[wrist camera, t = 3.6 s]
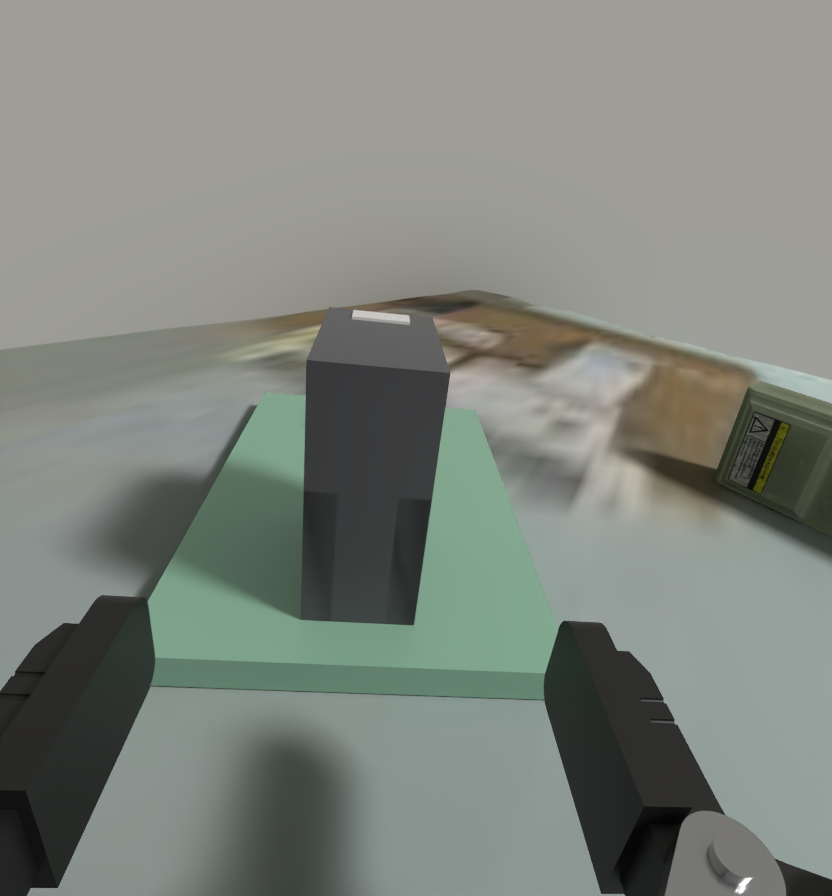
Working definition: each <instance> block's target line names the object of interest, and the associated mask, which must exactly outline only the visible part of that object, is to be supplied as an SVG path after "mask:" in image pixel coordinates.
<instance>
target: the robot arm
mask: <svg viewBox="0 0 832 896" xmlns="http://www.w3.org/2000/svg"><path fill="white" fill-rule="evenodd" d="M154 668H155V651H154V643H153V636H152V629H151V621H150V614H149V606H148V602H147V600H146V599H145V598H143V597H124V596H105V595H102V596H100V597H98V598H97V599H96V600H95V601H94V603H93V604H92V606H91V607H90V609H89V610H88V612H87V613H86V614H85V616H84V617H83V619H82V620H81V622H80V623H79V624H71V623H63V624H62V625H61V626H59V627H58V628H57V629H55V630H54V631H53V632H51V633H50V634H49V635H47V636H46V637H45V638H43V639H42V640H41V641H39V642H38V643H37V644H35V645H34V647H33V648H32V649H31V651H30V652H29V654H28V655H27V656H26V658H25V659H24V660H23V662H22V663H21V664H20V666H19V667H18V668H17V670H16V671H15V675H14V676H11V678H10V679H9V680H8V682H7V683H6V684H5V686H4V687H3V688H2V690H1V691H0V896H27V894H28V892H29V890H30V888H58V886H59V884H60V882H61V880H62V878H63V875H64V873H65V871H66V869H67V867H68V865H69V862H70V860H71V858H72V856H73V854H74V851H75V849H76V847H77V845H78V843H79V841H80V838H81V836H82V834H83V832H84V830H85V828H86V825H87V823H88V821H89V819H90V817H91V815H92V812H93V810H94V808H95V806H96V804H97V802H98V799H99V797H100V795H101V793H102V791H103V789H104V786H105V784H106V782H107V780H108V778H109V776H110V773H111V771H112V769H113V767H114V765H115V763H116V760H117V758H118V756H119V754H120V752H121V750H122V747H123V745H124V743H125V741H126V739H127V736H128V734H129V732H130V730H131V728H132V726H133V723H134V721H135V719H136V717H137V715H138V713H139V710H140V708H141V706H142V704H143V702H144V700H145V697H146V695H147V693H148V691H149V688H150V685H151V682H152V678H153V674H154ZM544 699H545V705H546V709H547V712H548V716H549V719H550V722H551V726H552V729H553V733H554V736H555V739H556V743H557V746H558V749H559V753H560V756H561V760H562V763H563V766H564V770H565V773H566V776H567V780H568V783H569V786H570V790H571V793H572V797H573V800H574V803H575V807H576V810H577V813H578V817H579V820H580V824H581V827H582V830H583V834H584V837H585V840H586V844H587V847H588V850H589V854H590V857H591V861H592V864H593V867H594V871H595V874H596V877H597V881H598V884H599V888H600V891H601V894H625V896H832V880H831V879H828V878H825V877H822V876H820V875H817V874H814V873H811V872H808V871H806V870H803V869H800V868H797V867H795V866H792V865H789V864H786V863H784V862H782V861H779V860H777V859H775V858H774V857H773V856H772V854H771V853H770V851H769V850H768V849H767V847H766V846H765V845H764V844H763V843H762V841H761V840H760V839H759V838H758V837H757V836H756V835H755V834H754V833H752V832H751V831H750V830H749V829H747V828H746V827H745V826H743V825H742V824H740V823H739V822H738V821H736V820H734V819H732V818H730V817H728V816H726V815H725V814H724V812H723V810H722V808H721V807H720V805H719V803H718V801H717V799H716V798H715V796H714V794H713V792H712V790H711V788H710V786H709V784H708V782H707V780H706V779H705V777H704V775H703V773H702V771H701V769H700V767H699V765H698V763H697V761H696V759H695V758H694V756H693V754H692V752H691V750H690V748H689V746H688V744H687V742H686V740H685V739H684V737H683V735H682V733H681V731H680V729H679V727H678V725H675V723H674V718H673V716H672V714H671V712H670V710H669V708H668V706H667V704H665V703H664V702H663V697H662V695H661V693H660V691H659V689H658V687H657V685H656V683H655V681H654V679H653V678H652V676H651V674H650V673H649V672H648V671H647V670H646V669H645V667H644V666H643V665H642V664H641V663H640V662H639V661H638V660H637V659H636V658H635V657H634V656H633V655H632V654H631V653H630V652H628V651H617V650H616V648H615V645H614V643H613V641H612V639H611V637H610V635H609V633H608V631H607V629H606V627H605V626H604V625H603V624H602V623H595V622H576V621H563V622H562V623H561V625H560V627H559V629H558V633H557V636H556V639H555V643H554V646H553V649H552V652H551V656H550V659H549V662H548V666H547V669H546V672H545V677H544Z"/></svg>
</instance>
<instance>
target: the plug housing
mask: <svg viewBox="0 0 832 896" xmlns="http://www.w3.org/2000/svg"><path fill="white" fill-rule="evenodd" d="M449 378H450V371H449V368H448V365H447V361H446V358H445V355H444V352H443V349H442V346H441V343H440V340H439V337H438V334H437V331H436V327H435V324H434V321H433V318H432V317H422V316H412V315H402V314H392V313H382V312H372V311H362V310H352V309H342V308H331V307H329V309H328V312H327V314H326V316H325V319H324V321H323V323H322V326H321V328H320V330H319V333H318V335H317V337H316V339H315V342H314V344H313V346H312V349H311V351H310V353H309V356H308V358H307V366H306V409H305V452H304V495H303V539H302V582H301V620H310V621H331V622H352V623H373V624H394V625H414V621H415V614H416V607H417V601H418V594H419V587H420V580H421V573H422V566H423V559H424V552H425V545H426V538H427V531H428V524H429V517H430V510H431V503H432V496H433V489H434V482H435V475H436V468H437V461H438V454H439V447H440V440H441V434H442V427H443V420H444V413H445V406H446V399H447V392H448V385H449Z"/></svg>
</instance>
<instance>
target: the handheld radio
mask: <svg viewBox="0 0 832 896" xmlns="http://www.w3.org/2000/svg"><path fill="white" fill-rule="evenodd" d="M714 481H715V482H717V483H719V484H721V485H723V486H725V487H727V488H729V489H731V490H733V491H735V492H737V493H740V494H742V495H744V496H746V497H748V498H750V499H752V500H754V501H756V502H758V503H761V504H763V505H765V506H767V507H769V508H771V509H773V510H775V511H777V512H779V513H782V514H784V515H786V516H788V517H790V518H792V519H794V520H796V521H798V522H800V523H803V524H805V525H807V526H809V527H811V528H813V529H815V530H817V531H819V532H822V533H824V534H826V535H828V536H830V537H832V404H831V403H828V402H825V401H822V400H819V399H816V398H813V397H810V396H806V395H803V394H800V393H797V392H794V391H791V390H788V389H785V388H781V387H778V386H775V385H772V384H769V383H766V382H763V381H760V382H757V383H755V384H753V385H750V386H749V387H748V389H747V392H746V394H745V397H744V400H743V402H742V405H741V407H740V410H739V413H738V415H737V418H736V421H735V423H734V426H733V429H732V431H731V434H730V437H729V439H728V442H727V444H726V447H725V450H724V452H723V455H722V458H721V460H720V463H719V466H718V468H717V471H716V473H715V476H714Z"/></svg>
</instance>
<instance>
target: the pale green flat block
mask: <svg viewBox="0 0 832 896" xmlns="http://www.w3.org/2000/svg"><path fill="white" fill-rule="evenodd" d="M305 409H306V396H302V395H290V394H278V393H266V392H265V393H264V395H263V397H262V398H261V400H260V402H259V404H258V406H257V407H256V409H255V411H254V413H253V414H252V416H251V418H250V420H249V422H248V423H247V425H246V427H245V429H244V430H243V432H242V434H241V436H240V438H239V439H238V441H237V443H236V445H235V447H234V448H233V450H232V452H231V454H230V455H229V457H228V459H227V461H226V463H225V464H224V466H223V468H222V470H221V472H220V473H219V475H218V477H217V479H216V480H215V482H214V484H213V486H212V488H211V489H210V491H209V493H208V495H207V497H206V498H205V500H204V502H203V504H202V505H201V507H200V509H199V511H198V513H197V514H196V516H195V518H194V520H193V521H192V523H191V525H190V527H189V529H188V530H187V532H186V534H185V536H184V538H183V539H182V541H181V543H180V545H179V546H178V548H177V550H176V552H175V554H174V555H173V557H172V559H171V561H170V563H169V564H168V566H167V568H166V570H165V571H164V573H163V575H162V577H161V579H160V580H159V582H158V584H157V586H156V588H155V589H154V591H153V593H152V595H151V596H150V598H149V600H148V606H149V614H150V621H151V629H152V636H153V643H154V651H155V668H154V674H153V678H152V682H151V685H150V686H172V687H200V688H228V689H256V690H284V691H312V692H340V693H368V694H396V695H424V696H452V697H480V698H508V699H536V700H545V699H544V677H545V672H546V669H547V666H548V662H549V659H550V656H551V652H552V649H553V646H554V643H555V639H556V636H557V633H558V627H557V625H556V622H555V619H554V617H553V614H552V612H551V609H550V606H549V604H548V601H547V598H546V596H545V593H544V590H543V588H542V585H541V582H540V580H539V577H538V575H537V572H536V569H535V567H534V564H533V561H532V559H531V556H530V553H529V551H528V548H527V546H526V543H525V540H524V538H523V535H522V532H521V530H520V527H519V524H518V522H517V519H516V516H515V514H514V511H513V509H512V506H511V503H510V501H509V498H508V495H507V493H506V490H505V487H504V485H503V482H502V479H501V477H500V474H499V472H498V469H497V466H496V464H495V461H494V458H493V456H492V453H491V450H490V448H489V445H488V443H487V440H486V437H485V435H484V432H483V429H482V427H481V424H480V421H479V419H478V416H477V413H476V411H475V410H467V409H455V408H445V413H444V420H443V427H442V434H441V440H440V447H439V454H438V461H437V468H436V475H435V482H434V489H433V496H432V503H431V510H430V517H429V524H428V531H427V538H426V545H425V552H424V559H423V566H422V573H421V580H420V587H419V594H418V601H417V607H416V614H415V621H414V625H394V624H373V623H352V622H331V621H310V620H301V582H302V539H303V495H304V452H305Z"/></svg>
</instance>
